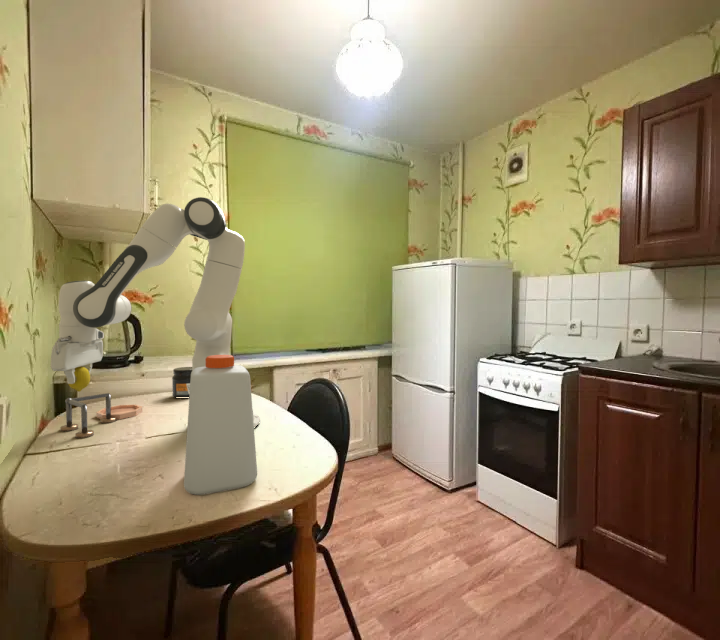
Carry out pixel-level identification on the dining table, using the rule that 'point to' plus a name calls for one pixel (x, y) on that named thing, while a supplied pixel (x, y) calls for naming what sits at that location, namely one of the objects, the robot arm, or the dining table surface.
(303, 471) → the dining table surface
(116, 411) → the terracotta dish
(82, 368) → the lemon
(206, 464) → the plastic bottle
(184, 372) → the supplement container
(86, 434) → the metal pipe stand
